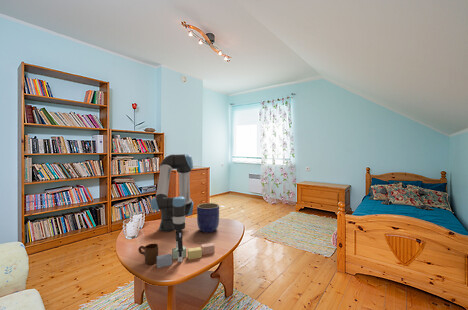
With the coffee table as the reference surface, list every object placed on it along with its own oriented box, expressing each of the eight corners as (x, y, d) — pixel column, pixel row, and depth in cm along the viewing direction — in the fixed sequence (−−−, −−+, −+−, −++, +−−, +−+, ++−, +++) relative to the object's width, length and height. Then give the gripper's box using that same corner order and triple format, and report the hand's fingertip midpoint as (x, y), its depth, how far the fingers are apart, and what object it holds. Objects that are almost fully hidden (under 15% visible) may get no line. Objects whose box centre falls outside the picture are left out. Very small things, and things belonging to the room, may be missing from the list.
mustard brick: (188, 259, 128) (188, 251, 128) (187, 256, 131) (187, 248, 131) (201, 257, 130) (201, 249, 130) (200, 254, 134) (200, 246, 134)
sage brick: (173, 259, 128) (173, 251, 128) (172, 256, 132) (171, 248, 132) (186, 256, 132) (186, 248, 131) (184, 253, 135) (184, 246, 135)
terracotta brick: (202, 255, 133) (202, 247, 133) (201, 252, 137) (201, 244, 137) (214, 253, 136) (214, 245, 136) (213, 250, 140) (212, 242, 140)
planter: (192, 232, 171) (192, 207, 170) (204, 225, 188) (204, 202, 187) (212, 235, 163) (212, 209, 163) (223, 228, 180) (222, 204, 180)
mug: (134, 264, 122) (134, 248, 122) (142, 257, 130) (142, 242, 130) (154, 265, 121) (154, 249, 121) (160, 258, 128) (160, 243, 128)
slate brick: (157, 268, 118) (157, 259, 118) (156, 264, 122) (156, 256, 122) (172, 265, 122) (171, 256, 122) (170, 261, 125) (170, 253, 125)
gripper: (171, 217, 142) (171, 248, 142) (174, 229, 118) (174, 267, 118) (182, 216, 144) (183, 246, 144) (187, 228, 121) (187, 265, 121)
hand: (179, 256), depth 131 cm, fingers open, 13 cm apart
